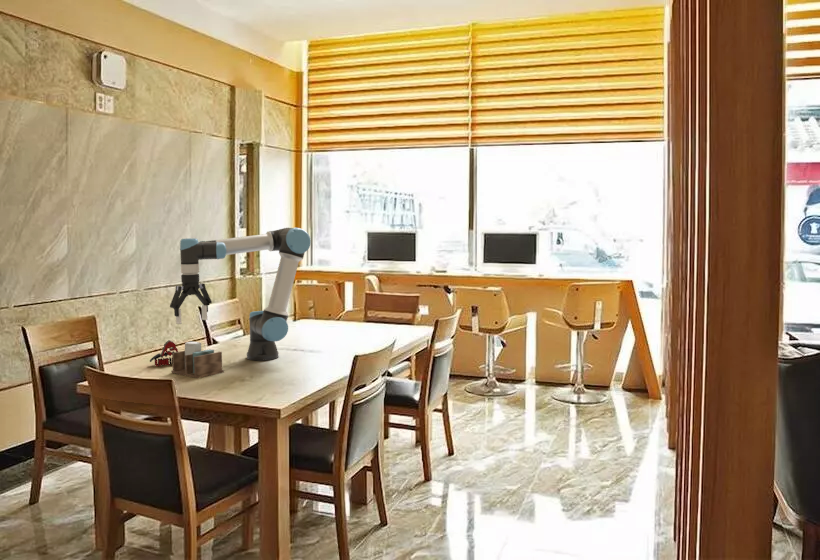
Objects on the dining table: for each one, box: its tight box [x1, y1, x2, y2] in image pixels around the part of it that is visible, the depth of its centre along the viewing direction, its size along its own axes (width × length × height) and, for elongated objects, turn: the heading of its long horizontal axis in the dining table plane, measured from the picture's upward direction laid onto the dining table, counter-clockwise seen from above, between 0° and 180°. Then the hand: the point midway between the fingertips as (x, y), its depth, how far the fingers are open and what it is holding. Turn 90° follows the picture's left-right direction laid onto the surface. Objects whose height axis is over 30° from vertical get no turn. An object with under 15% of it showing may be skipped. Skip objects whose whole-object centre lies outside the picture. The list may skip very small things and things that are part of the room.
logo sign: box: [149, 339, 179, 367], centre depth 330 cm, size 18×4×11 cm, turn 117°
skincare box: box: [184, 341, 202, 355], centre depth 314 cm, size 6×4×12 cm
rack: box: [171, 349, 225, 379], centre depth 312 cm, size 14×18×10 cm
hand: (191, 321), depth 312 cm, fingers open, 13 cm apart
